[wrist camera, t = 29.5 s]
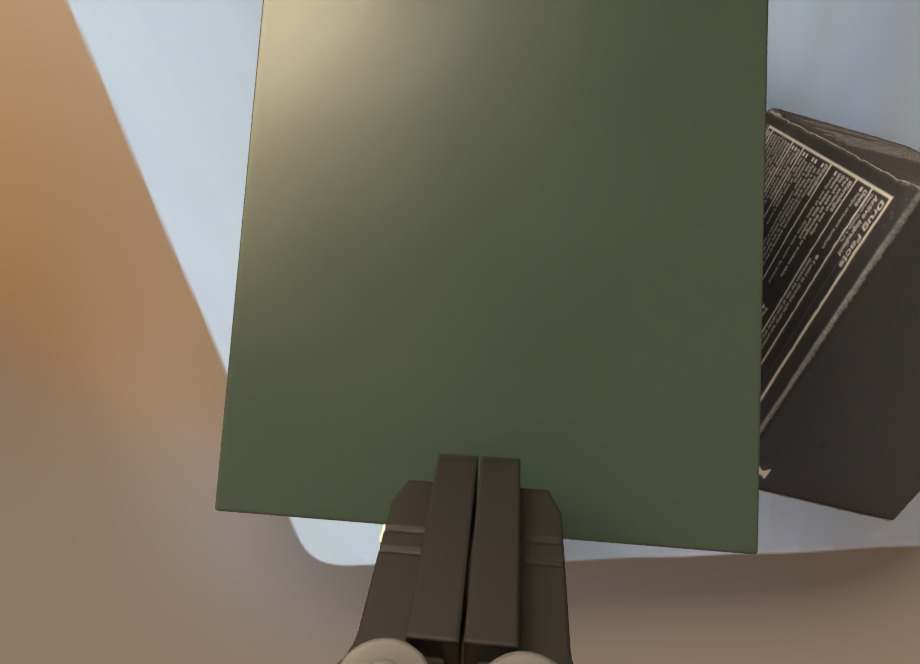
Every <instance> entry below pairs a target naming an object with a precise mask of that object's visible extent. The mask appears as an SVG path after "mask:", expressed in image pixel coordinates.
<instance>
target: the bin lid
mask: <svg viewBox="0 0 920 664" xmlns="http://www.w3.org/2000/svg"><path fill="white" fill-rule="evenodd" d="M767 35H768V0H263V8H262V18H261V29H260V40H259V50H258V61H257V71H256V82H255V92H254V103H253V114H252V124H251V135H250V145H249V156H248V166H247V177H246V187H245V198H244V209H243V219H242V230H241V240H240V251H239V261H238V272H237V282H236V293H235V304H234V314H233V325H232V335H231V346H230V356H229V367H228V377H227V389H226V399H225V409H224V421H223V431H222V442H221V451H220V463H219V473H218V483H217V494H216V505H215V508H216V510H218V511H227V512H240V513H252V514H264V515H277V516H289V517H301V518H313V519H326V520H338V521H350V522H362V523H375V524H386V521H387V517H388V513H389V509H390V505H391V502H392V500H393V498H394V497H395V496H396V495H397V494H398V492H399V491H400V490H401V489H402V487H403V486H404V485H405V484H406V482H407V481H408V480H416V481H429V482H434V477H435V472H436V466H437V461H438V456H439V454H440V453H443V454H457V455H471V456H478V487H479V476H480V465H481V457H482V456H488V457H502V458H516V459H520V461H521V470H520V488H525V489H539V490H549V492H550V494H551V496H552V498H553V499H554V501H555V503H556V505H557V506H558V508H559V510H560V512H561V513H562V527H563V539H572V540H584V541H596V542H609V543H621V544H633V545H645V546H658V547H670V548H682V549H695V550H707V551H719V552H732V553H744V554H757V552H758V504H759V452H760V399H761V347H762V295H763V243H764V191H765V139H766V87H767ZM477 497H478V489H477Z"/></svg>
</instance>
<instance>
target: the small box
mask: <svg viewBox="0 0 920 664" xmlns="http://www.w3.org/2000/svg"><path fill="white" fill-rule="evenodd" d="M759 490H760V491H764V492H768V493H772V494H777V495H780V496H784V497H788V498H794V499H798V500H802V501H806V502H810V503H814V504H818V505H822V506H828V507H831V508H835V509H839V510H843V511H847V512H853V513H856V514H860V515H865V516H870V517H874V518H879V519H882V520H886V521H891V520H894V519H895V518H896V517H897V516H898V514H899V513H900V512H901V511H902V510H903V509H904V508H905V507H906V505H907V504H908V503H909V502H910V501H911V500H912V499H913V498H914V497H915V496H916V495H917V493H918V492H919V491H920V153H919V152H917V151H916V150H914V149H911V148H910V147H907V146H904V145H901V144H897V143H894V142H890V141H888V140H884V139H881V138H878V137H875V136H870V135H867V134H864V133H860V132H857V131H853V130H850V129H846V128H843V127H839V126H836V125H832V124H829V123H825V122H821V121H818V120H814V119H811V118H808V117H805V116H801V115H797V114H794V113H790V112H786V111H783V110H780V109H771V110H769V111H768V112H767V113H766V139H765V191H764V243H763V295H762V347H761V399H760V452H759Z"/></svg>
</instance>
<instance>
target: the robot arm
mask: <svg viewBox="0 0 920 664" xmlns="http://www.w3.org/2000/svg"><path fill="white" fill-rule="evenodd" d="M520 470H521V461H520V459H516V458H502V457H488V456H482V457H481V465H480V476H479V487H478V456H471V455H457V454H443V453H440V454H439V456H438V461H437V466H436V472H435V477H434V482H429V481H416V480H408V481H407V482H406V484H405V485H404V486H403V487H402V489H401V490H400V491H399V492H398V494H397V495H396V496H395V497H394V498H393V500H392V502H391V505H390V509H389V513H388V517H387V521H386V525H385V531H384V533H383V537H382V541H381V545H380V551H379V552H378V556H377V560H376V564H375V568H374V572H373V576H372V580H371V584H370V588H369V592H368V595H367V600H366V603H365V607H364V611H363V615H362V619H361V623H360V627H359V631H358V633H357V636H356V639H355V641H354V643H353V645H352V647H351V648H350V650H349V651H348V653H347V654H346V655H345V656H344V658H343V659H342V660H341V661H340V662H339V663H338V664H573V661H572V657H571V650H570V636H569V621H568V604H567V589H566V575H565V566H564V565H565V558H564V545H563V527H562V513H561V512H560V510H559V508H558V506H557V505H556V503H555V501H554V499H553V498H552V496H551V494H550V492H549V490H539V489H525V488H520ZM477 489H478V497H477Z"/></svg>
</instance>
